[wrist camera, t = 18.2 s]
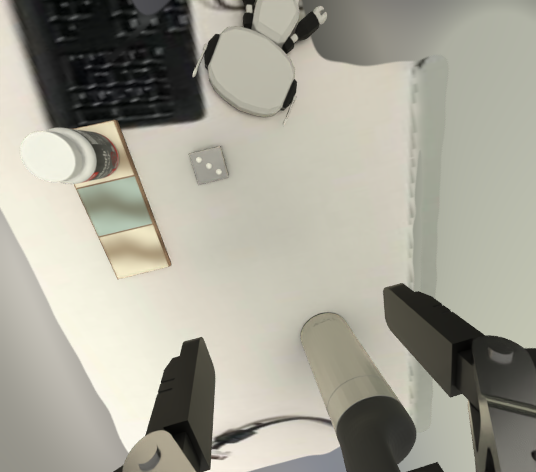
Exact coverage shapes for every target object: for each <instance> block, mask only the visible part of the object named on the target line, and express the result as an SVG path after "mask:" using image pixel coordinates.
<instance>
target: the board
mask: <svg viewBox="0 0 536 472" xmlns="http://www.w3.org/2000/svg"><path fill="white" fill-rule="evenodd" d="M75 130H83V131H90V132H96V133H99V134H102V135H104V136H105V137H107V138H108V139H109V140H110V141H111V142H112V143H113V144H114V145H115V147H116V149H117V151H118V154H119V164H118V167H117V169H116V170H115V172H114V173H113V174H111V175H110V176H108V177H105V178H101V179H97V180H92V181H87V182H83V183H79V184H74V186H75V188H76V190H77V192H78V194H79V197H80V199H81V201H82V203H83V205H84V207H85V210H86V212H87V214H88V216H89V218H90V220H91V223H92V225H93V227H94V229H95V231H96V233H97V235H98V238H99V240H100V242H101V244H102V246H103V248H104V251H105V253H106V255H107V257H108V259H109V261H110V264H111V266H112V268H113V270H114V272H115V274H116V277H117V279H122V278H125V277H129V276H133V275H137V274H141V273H145V272H149V271H153V270H157V269H161V268H165V267H169V266H171V262H170V259H169V256H168V254H167V251H166V248H165V246H164V243H163V240H162V238H161V235H160V232H159V230H158V227H157V224H156V222H155V219H154V216H153V214H152V211H151V208H150V206H149V203H148V200H147V198H146V195H145V192H144V190H143V187H142V184H141V182H140V179H139V176H138V174H137V171H136V168H135V166H134V163H133V160H132V158H131V155H130V152H129V150H128V147H127V144H126V142H125V139H124V136H123V134H122V131H121V128H120V126H119V123H118V121H117V120H112V121H108V122H103V123H98V124H94V125H89V126H84V127H79V128H75Z"/></svg>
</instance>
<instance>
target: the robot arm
mask: <svg viewBox="0 0 536 472" xmlns="http://www.w3.org/2000/svg"><path fill="white" fill-rule="evenodd" d="M383 295H384V310H385V319H386V322H387V325H388V327H389V329H390V330H391V331H392V333H393V334H394V335H395V336H396V337H397V338H398V339H399V340H400V342H401V343H402V344H403V345H404V346H405V347H406V348H407V349H408V351H409V352H410V353H411V354H412V355H413V356H414V357H415V358H416V360H417V361H418V362H419V363H420V364H421V365H422V366H423V367H424V369H425V370H426V371H427V372H428V373H429V374H430V375H431V376H432V378H433V379H434V380H435V381H436V382H437V383H438V384H439V385H440V386H441V387H442V389H443V390H444V391H445V392H446V393H447V394H448V395H449V397H453V396H457V395H460V394H463V395H464V396H465V397H466V398H467V399H468V412H469V419H470V427H471V434H472V441H473V449H474V456H475V465H476V472H536V348H528V349H525V348H523V347H522V346H520V345H519V344H517V343H515V342H513V341H511V340H508V339H506V338H502V337H498V336H490V335H488V336H485V335H484V334H482V333H481V332H480V331H478V330H477V329H475V328H474V327H473V326H471V325H470V324H469V323H467V322H466V321H464V320H463V319H462V318H460V317H459V316H458V315H456V314H455V313H453V312H451V311H450V310H449V309H448V308H446V307H445V306H442V304H441V303H440V302H438V301H437V300H436V299H434V298H433V297H432V296H429V295H426V294H424V293H421V292H419V291H418V292H414V291H412V290H411V289H410V288H408V287H407V286H406V285H404V284H402V283H400V284H397V285H393V286H389V287H386V288H384V290H383ZM301 342H302V345H303V348H304V351H305V353H306V356H307V359H308V361H309V364H310V367H311V369H312V372H313V375H314V377H315V380H316V383H317V385H318V388H319V390H320V393H321V396H322V398H323V401H324V404H325V406H326V409H327V412H328V414H329V417H330V419H331V422H332V425H333V427H334V430H335V432H336V435H337V438H338V441H339V444H340V446H341V450H342V454H343V458H344V463H345V467H346V471H347V472H400V470H399V468H398V465H397V464H399V463H400V462H401V461H402V460H403V459H404V458H405V457H406V456H407V455H408V454H409V452H410V451H411V449H412V447H413V445H414V443H415V440H416V428H415V425H414V423H413V421H412V419H411V417H410V416H409V414H408V413H407V411H406V410H405V408H404V407H403V405H402V404H401V402H400V401H399V400H398V398H397V397H396V395H395V394H394V392H393V391H392V389H391V388H390V386H389V385H388V384H387V382H386V381H385V379H384V378H383V376H382V375H381V373H380V372H379V370H378V369H377V367H376V366H375V364H374V363H373V361H372V360H371V358H370V357H369V355H368V354H367V352H366V351H365V350H364V348H363V347H362V345H361V344H360V342H359V341H358V339H357V338H356V336H355V335H354V333H353V332H352V330H351V329H350V327H349V326H348V324H347V323H346V321H345V320H344V319H343V318H342V317H341V316H339V315H337V314H333V313H323V314H320V315H317V316H315V317H313V318H311V319H310V320H309V321H308V322H307V323H306V324H305V325H304V327H303V329H302V332H301ZM214 395H215V371H214V366H213V363H212V360H211V358H210V355H209V352H208V350H207V347H206V344H205V341H204V339H203V338H202V337H200V338H196V339H192V340H188V341H185V342H183V345H182V349H181V353H180V356H179V357H175V358H172V360H171V361H170V363H169V364H168V365H167V367H166V368H165V370H164V373H163V377H162V380H161V384H160V387H159V390H158V394H157V397H156V401H155V404H154V408H153V411H152V415H151V418H150V421H149V425H148V428H147V432H146V435H145V437H143V438H142V439H141V440H140V441H139V442H138V443H137V444H136V445H135V446H134V447H133V448H132V450H131V451H130V452H129V454H128V456H127V458H126V460H125V463H124V465H123V466H121V467H120V468H118V469H117V470H115V471H114V472H204V471H207V470H210V465H211V448H212V430H213V412H214ZM408 472H444V471H443V470H442V468H441V467H440V465H439V464H438V462H436V463H433V464H430V465H427V466H424V467H420V468H418V469H414V470H411V471H408Z"/></svg>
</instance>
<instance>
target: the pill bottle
mask: <svg viewBox="0 0 536 472" xmlns="http://www.w3.org/2000/svg"><path fill="white" fill-rule="evenodd" d="M20 156H21V159H22V162H23V164H24V165H25V167H26V168H27V170H28V171H29V172H30V173H31V174H33V175H34V176H35V177H37V178H39V179H41V180H44V181H47V182H61V183H65V184H79V183H83V182H87V181H92V180H97V179H101V178H105V177H108V176H110V175H111V174H113V173H114V172H115V170H116V169H117V167H118V164H119V154H118V151H117V149H116V147H115V145H114V144H113V143H112V142H111V141H110V140H109V139H108V138H107V137H105V136H104V135H102V134H99V133H96V132H90V131H83V130H75V129H68V128H52V129H49V130H46V131H37V132H33V133H31V134H29V135H28V136H26V137H25V138H24V140H23V141H22V143H21V147H20Z"/></svg>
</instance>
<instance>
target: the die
mask: <svg viewBox="0 0 536 472" xmlns="http://www.w3.org/2000/svg"><path fill="white" fill-rule="evenodd" d="M189 157H190V160H191V163H192V166H193V169H194V173H195V176H196V179H197V182H198V185H201V184H205V183H209V182H213V181H217V180H221V179H225V178H228V171H227V168H226V164H225V160H224V157H223V153H222V149H221V146H218V147H214V148H210V149H206V150H202V151H198V152H193V153H189Z"/></svg>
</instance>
